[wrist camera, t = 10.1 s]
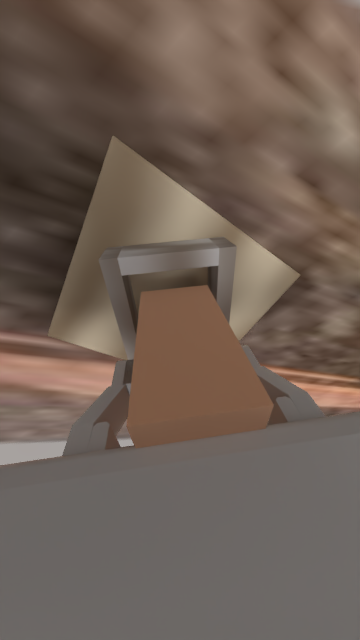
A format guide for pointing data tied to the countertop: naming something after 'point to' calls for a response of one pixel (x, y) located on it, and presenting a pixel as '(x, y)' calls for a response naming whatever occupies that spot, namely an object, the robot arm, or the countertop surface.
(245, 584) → the robot arm
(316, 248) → the countertop surface
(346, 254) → the countertop surface
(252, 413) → the keyed block
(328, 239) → the countertop surface
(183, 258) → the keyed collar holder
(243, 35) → the countertop surface
